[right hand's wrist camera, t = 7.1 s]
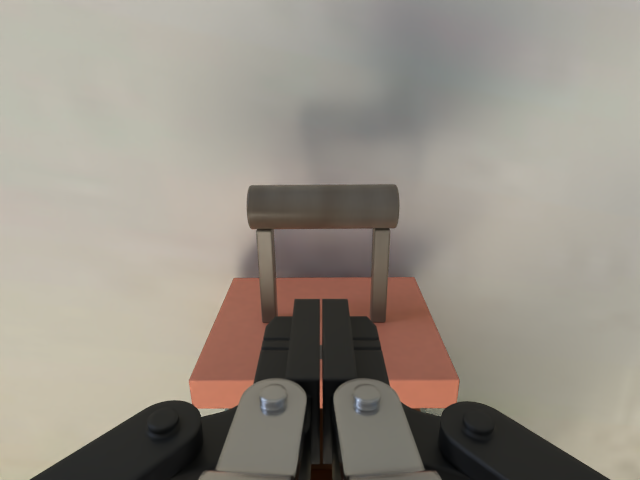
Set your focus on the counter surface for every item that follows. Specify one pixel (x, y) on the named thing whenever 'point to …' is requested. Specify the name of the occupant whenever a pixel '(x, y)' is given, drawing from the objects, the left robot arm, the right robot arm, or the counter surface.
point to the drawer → (362, 293)
